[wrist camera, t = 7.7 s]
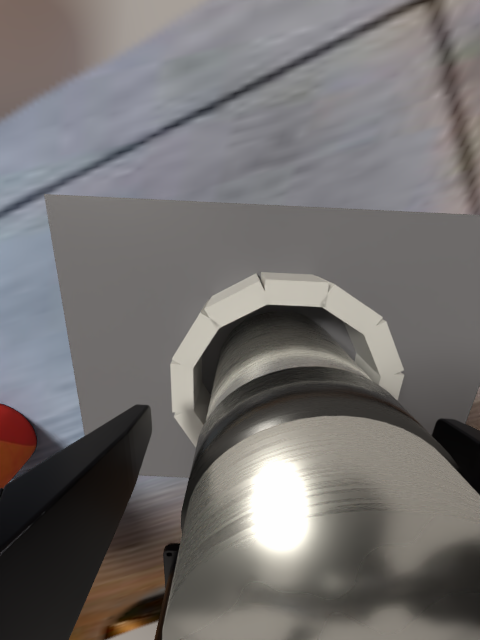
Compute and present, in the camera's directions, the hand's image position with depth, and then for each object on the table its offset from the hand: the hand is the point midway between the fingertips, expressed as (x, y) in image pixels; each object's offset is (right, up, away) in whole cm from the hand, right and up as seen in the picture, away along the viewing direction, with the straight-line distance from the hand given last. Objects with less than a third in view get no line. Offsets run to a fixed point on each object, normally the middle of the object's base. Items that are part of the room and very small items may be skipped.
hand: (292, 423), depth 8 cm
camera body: (0, +3, +8) cm, 8 cm away
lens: (0, +1, +3) cm, 4 cm away
